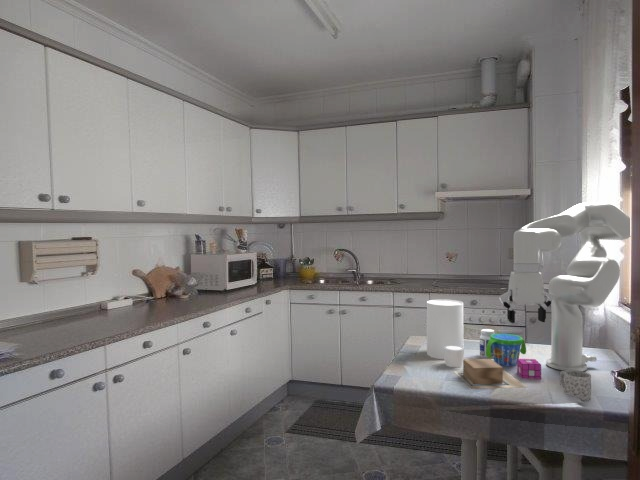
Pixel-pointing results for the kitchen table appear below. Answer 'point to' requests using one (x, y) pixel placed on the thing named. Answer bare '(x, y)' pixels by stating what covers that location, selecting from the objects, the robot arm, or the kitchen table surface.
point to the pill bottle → (485, 342)
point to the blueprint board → (507, 383)
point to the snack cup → (505, 348)
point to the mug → (576, 384)
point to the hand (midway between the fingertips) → (526, 321)
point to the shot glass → (453, 356)
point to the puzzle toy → (529, 368)
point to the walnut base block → (482, 371)
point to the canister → (443, 326)
